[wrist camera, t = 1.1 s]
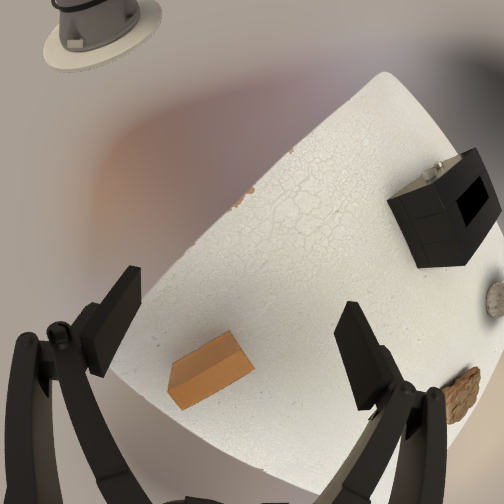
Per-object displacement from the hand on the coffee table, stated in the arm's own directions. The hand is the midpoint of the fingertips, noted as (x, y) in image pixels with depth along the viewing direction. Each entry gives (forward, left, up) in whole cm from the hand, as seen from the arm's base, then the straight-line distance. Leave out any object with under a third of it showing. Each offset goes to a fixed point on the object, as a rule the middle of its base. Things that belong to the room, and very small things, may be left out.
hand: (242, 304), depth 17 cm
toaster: (+8, +37, -16) cm, 41 cm away
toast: (+6, -5, -16) cm, 18 cm away
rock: (+44, +26, -16) cm, 53 cm away
